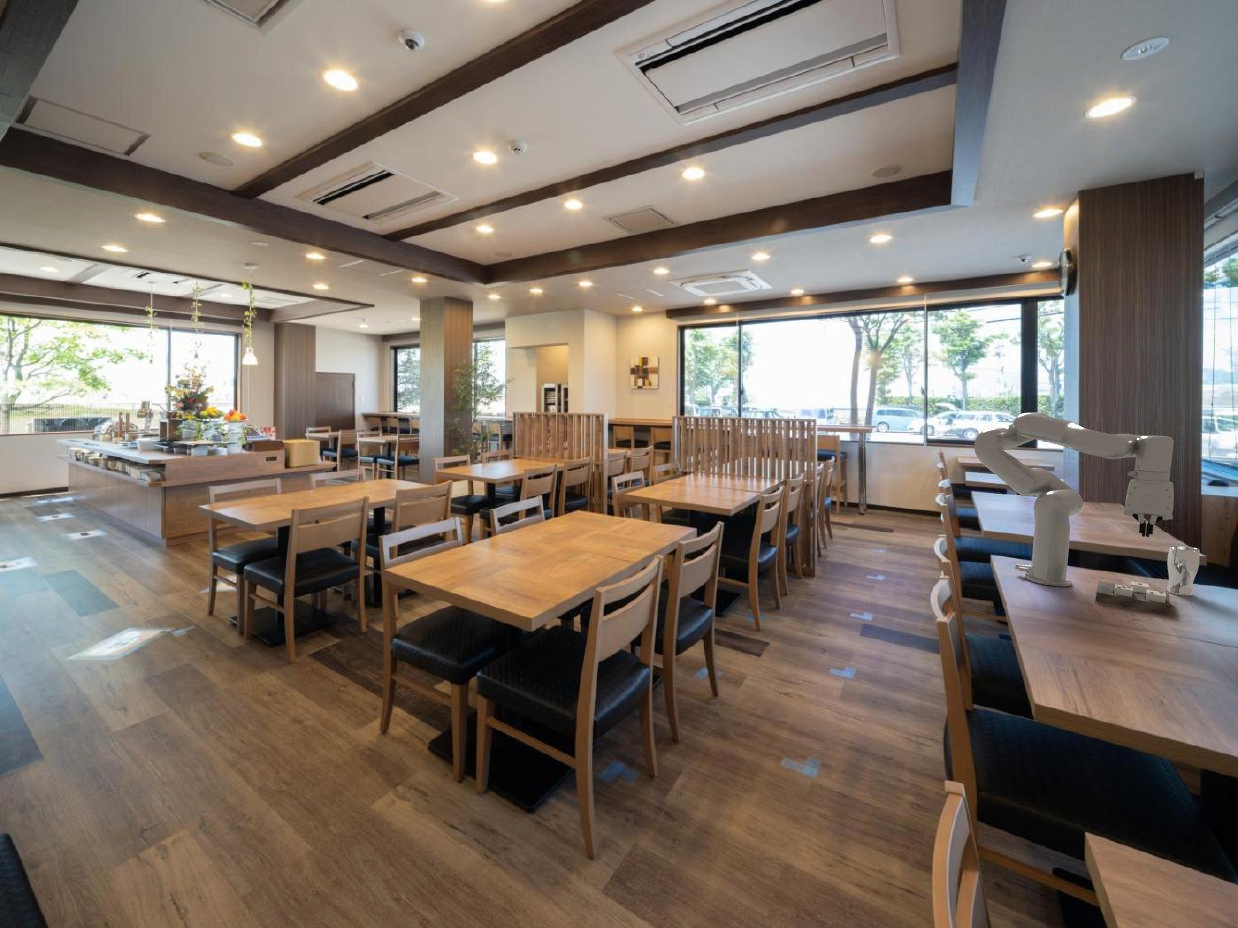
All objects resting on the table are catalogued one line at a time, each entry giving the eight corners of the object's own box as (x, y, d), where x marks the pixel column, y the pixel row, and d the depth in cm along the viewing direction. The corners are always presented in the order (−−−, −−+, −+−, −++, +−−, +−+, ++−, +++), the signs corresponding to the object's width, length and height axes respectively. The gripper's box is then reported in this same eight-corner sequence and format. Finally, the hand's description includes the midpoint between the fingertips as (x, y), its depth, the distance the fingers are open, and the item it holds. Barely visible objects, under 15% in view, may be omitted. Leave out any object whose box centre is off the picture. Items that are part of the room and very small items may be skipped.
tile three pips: (1113, 596, 162) (1114, 586, 162) (1114, 593, 165) (1115, 583, 165) (1131, 600, 159) (1132, 590, 159) (1131, 596, 162) (1133, 586, 162)
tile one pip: (1129, 593, 165) (1130, 583, 164) (1130, 590, 168) (1131, 580, 167) (1147, 596, 162) (1149, 586, 162) (1147, 593, 165) (1148, 583, 164)
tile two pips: (1145, 602, 157) (1146, 592, 157) (1145, 598, 160) (1146, 589, 160) (1164, 606, 155) (1166, 595, 154) (1164, 602, 157) (1165, 592, 157)
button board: (1095, 601, 164) (1096, 592, 164) (1098, 589, 174) (1098, 581, 173) (1169, 615, 153) (1170, 605, 152) (1167, 602, 163) (1168, 592, 162)
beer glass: (1180, 589, 173) (1186, 545, 172) (1202, 597, 167) (1207, 551, 165) (1157, 588, 174) (1162, 544, 172) (1177, 596, 167) (1183, 550, 166)
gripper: (1117, 475, 161) (1111, 534, 163) (1188, 480, 150) (1181, 542, 153) (1118, 473, 166) (1112, 530, 168) (1187, 477, 156) (1180, 537, 158)
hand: (1145, 535), depth 160 cm, fingers closed
